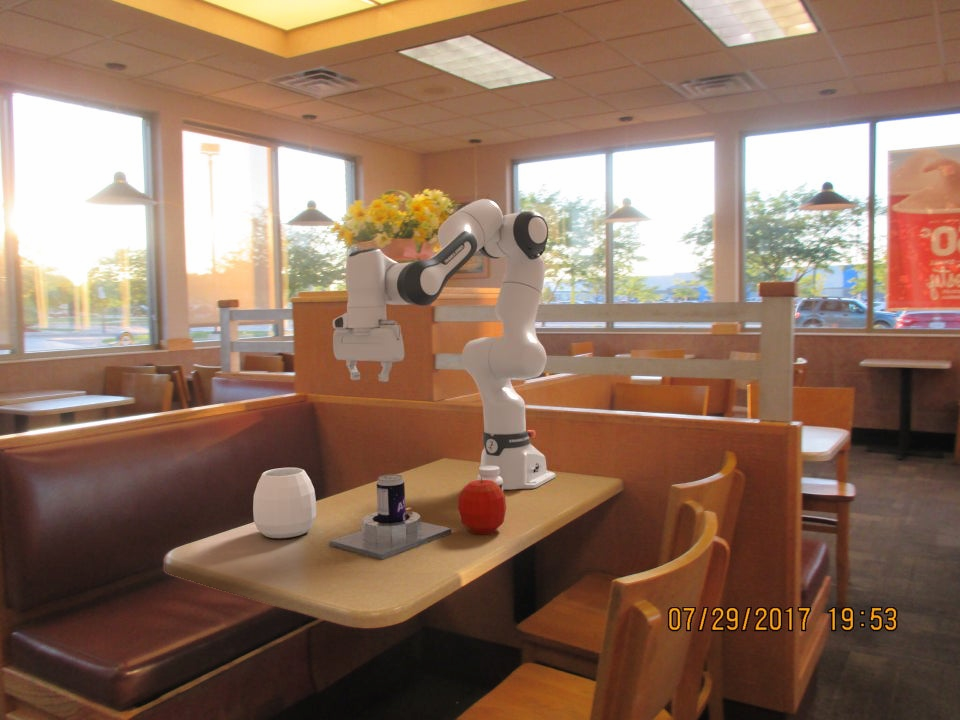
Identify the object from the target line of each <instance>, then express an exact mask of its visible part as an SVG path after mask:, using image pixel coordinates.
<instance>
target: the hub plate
mask: <svg viewBox="0 0 960 720" xmlns="http://www.w3.org/2000/svg"><path fill="white" fill-rule="evenodd" d="M405 513H406V520H405V521H402V522H397V523H379V522H378V511H376V512H372V513H370V514H366V515H365V516H363V517H362V518H361V530H359V531H356V532H353V533H350V534H346V535H344V536H339V537H337V538H335V539H332V540H329V542H330V543H329V544H330V546H331V547H335V548H338V549H341V550H345V551H347V552H348V551H349V552H352V553H355V554H360V555H363V556H367V557H369V558H370V557H371V558H374V559H378V560H381V561H382V560H385V559H388V558H391V557H393V556H395V555H398V554H401V553H403V552H406V551H409V550H411V549H414V548H417V547H419V546H422V545H424V544H426V542H427V543H430V542H431V541H435V540H438V539H440V538H443V537H445V536H448V535H450V533H451V534H452V528H450V527H447V526H441V525H436V524H432V523H427V522H423V521H421V520H422V519H421V515H420V514H419V513H417V512H415V511H413V507H405ZM447 534H448V535H447ZM444 535H445V536H444ZM442 536H443V537H442ZM439 537H440V538H439ZM437 538H438V539H437ZM434 539H435V540H434ZM429 541H430V542H429ZM421 544H422V545H421ZM416 546H417V547H416ZM413 547H414V548H413Z"/></svg>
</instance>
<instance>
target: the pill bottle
mask: <svg viewBox="0 0 960 720" xmlns="http://www.w3.org/2000/svg"><path fill="white" fill-rule="evenodd" d="M499 473H500V471H499V467H498V466H482V467H481V466H479V467H478V476H479V475H480V476H479V477H478V476H477V478H476V479H475V481H477V480H481V478H482V480H491V481H493V482H495V483H496V484H498V485H499V486H500V488H501V489H502V491H503V492H504V489H503V480H502V478H501V477H500V476H498V474H499Z"/></svg>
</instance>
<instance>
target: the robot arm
mask: <svg viewBox="0 0 960 720" xmlns="http://www.w3.org/2000/svg"><path fill="white" fill-rule="evenodd" d="M547 223H548V222H547V221H546V219H545V217H544V216H543V215H542V214H541V213H539V212H536V211H529V210H528V211H527V210H525V211H521V212H514V213H509V214H505V215H503V212H502V210H501V208H500V207H499V205H498V204H497V203H496V202H494V201H493V200H491V199H487V198H482V199H478V200H475V201H472V202H471V203H469V204H467V205H465V206H463V207H461V208H459V210H457V211H455V212H454V213H453V214H451V215H450V216H449V217H447V218H446V220H444V222H442V223H441V225H440V226H439V228H438V231H437V238H438V239H437V240H438V244H439V246H440V250H439V251H437V252H436V253H435V254H434V255H433V256H432V257H430V258H428V259H420V260H415V261H411V262H402V263H399V262H398V261H395V260H394V259H392V258H390V257H388V256H387V255H386V254H385V253H383V251H382V250H381V249H380V248H377V247H370V248H362V249H359V250H354V251H352V252H351V253H350V254H349V255H348V256H347V260H346V267H345V288H346V292H347V298H348V299H347V304H346V312H344V313H343V314H342V315H340V316H337V317H336V318H334V319H333V320H332V327H333V329H334V331H333V335H332V346H333V347H332V348H333V355H334V357H335V359H336V360H337V361H345V365H346V367H347V368H348V372H349V373H350V380H351V381H360V380H361V371H359V370H358V368H357V365H358V362H359V361H362V362H380V366H381V367H382V369H381V371H380V373H378V375H377V376H378V381H379V382H381V383H382V382H383V383H386V382H389V380H390V377H389V374H390V372H391V369H392V368H393V363H395V362H402V361H403V360H404V358H405V346H404V340H403V335H402V330H401V329H402V328H401V325H400V324H399V323H398V322H397V321H396V320H395V319H389V320H388V319H387V305H392V306H394V305H395V306H399V305H400V306H403V305H405V306H406V305H412V306H413V305H415V306H429V305H431V304H433V303H434V302H436V300H438V299H439V297H440V295H441V293H442V291H443V290H444V287H445V286H446V285H447V283H448V281H449V280H450V279H451V278H452V277H453V276H454V275H455V274H456V273H457V272H458V271H460V269H462V268H463V267H464V265H466V263H468V262H469V261H470V260H471V259H472V258H473V256H474V255H475V254H476V253H477V252H480V254H481V255H482V256H484V257H486V258H490V259H500V258H505V261H506V262H505V263H506V270H505V272H504V276H503V278H502V282H501V285H500V289H499V293H498V295H497V299H496V304H495V308H494V313H495V316H496V318H497V320H498V321H499V322H500V323H502V334H501V336H500V337H499V336H498V337H496V336H493V337H492V336H491V337H490V336H489V337H487V336H486V337H485V336H484V337H480V338H476V339H472V340H469V341H468V342H467V343H466V344H465V346H464V347H463V349H462V352H461V353H462V354H461V363H462V366H463V368H464V370H465V371H466V372H467V374H469V375H470V376H471V378H472V379H473V380H474V382H475V385H476V386H477V389H478V392H479V395H480V398H481V402H482V403H481V404H482V410H483V429H484V430H483V432H482V438H481V439H482V446H483V449H482V450H481V456H480V467H482V466H498V467H499V471H500V473H499V474H498V476H500V477H501V478H502V480H503V490H519V489H536V488H538V487H540V486H542V485H544V484H546V483H547V482H549V481H551V480H553V479H555V478H556V477H557V476H556V473H555V472H553V471H550V470H548V469H547V461H546V460H547V459H546V456H545V455H544V454H543V453H542V452H541V451H539V450H538V449H537V448H536V447H534V445H532V443H531V439H530V438H533V439H534V438H535V437H536V434H537V433H536V432H537V431H535V429H534V430H533V429H531V430H530V429H528V430H527V426H526V425H527V424H526V421H527V420H526V403H525V400H524V399H523V397H522V396H521V395H520V394H518V393H517V392H516V390H515V389H514V386H513V385H512V381H511V380H513V381H514V380H515V381H524V380H530V379H535V378H538V377H540V376H541V375H542V373H543V372H544V371H545V368H546V366H547V357H548V356H547V352H546V348H545V347H544V345H542V343H541V341H540V340H539V338H538V336H537V331H536V319H537V313H538V308H539V305H540V300H541V297H542V294H543V293H542V292H543V288H544V282H545V274H546V262H545V259H544V258H543V257H542V255H543V254H544V252H545V251H546V245H547V244H548V238H549V227H548V224H547ZM479 476H480V474H478V476H477V478H478V477H479Z"/></svg>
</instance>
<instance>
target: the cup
mask: <svg viewBox="0 0 960 720" xmlns="http://www.w3.org/2000/svg"><path fill="white" fill-rule="evenodd" d="M252 506H253V507H252V513H253V514H252V515H253V522H254V525H255V527H256V529H257V530H258V531H259V533H260V534H262V535H264V536H265V537H267V538H271V539H287V538H295V537H298V536H302V535H304V534H305V533H307V532H308V531H309V530H311V528H312V527H313V526H314V523H315V520H316V518H317V501H316V492H315V488H314V486H313V483H312V480H311V478H310V477H309V476H308V474H307V472H306V471H305V469H302V468H301V467H300V468H299V467H281V468H273V469H269V470H266V471H264V472H262V473H261V476H260V477H259V479H258V482H257V484H256V487H255V490H254V493H253V502H252Z"/></svg>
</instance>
